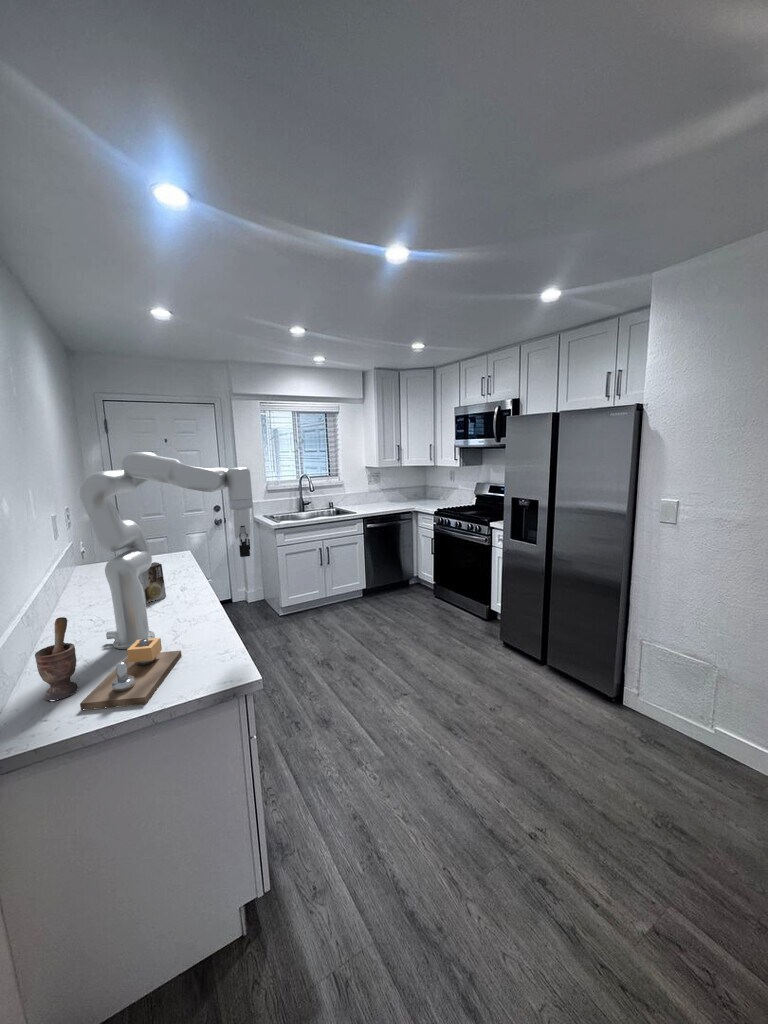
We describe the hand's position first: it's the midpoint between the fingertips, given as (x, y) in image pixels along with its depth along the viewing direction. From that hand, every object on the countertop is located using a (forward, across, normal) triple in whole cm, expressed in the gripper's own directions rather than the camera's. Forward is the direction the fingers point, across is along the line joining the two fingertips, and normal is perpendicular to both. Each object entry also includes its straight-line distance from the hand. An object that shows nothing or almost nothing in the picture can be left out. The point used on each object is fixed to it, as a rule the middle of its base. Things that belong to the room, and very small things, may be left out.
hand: (245, 553), depth 146 cm
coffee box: (+30, -56, -43) cm, 77 cm away
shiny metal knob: (+28, +13, -31) cm, 44 cm away
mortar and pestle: (+30, +18, -51) cm, 62 cm away
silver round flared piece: (+28, +27, -34) cm, 51 cm away
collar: (+26, +13, -31) cm, 42 cm away
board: (+30, +20, -32) cm, 48 cm away
